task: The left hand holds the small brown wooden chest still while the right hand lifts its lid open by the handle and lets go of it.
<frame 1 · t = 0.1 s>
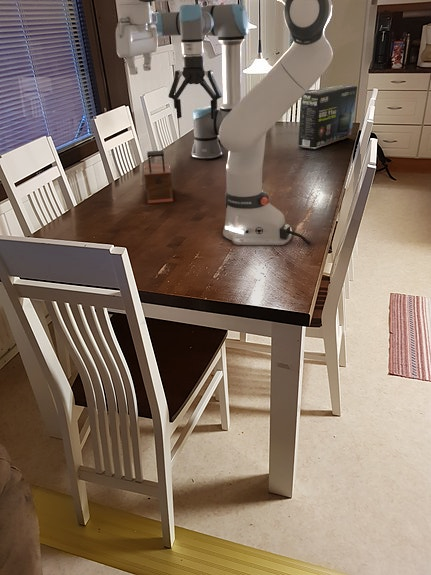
left hand: (196, 118, 174), 28 cm above the table, tool pointing down, fingers open, 13 cm apart
right hand: (140, 72, 133), 48 cm above the table, tool pointing down, fingers open, 8 cm apart
fossil: (233, 139, 258), on the table
chest: (159, 196, 183), on the table
router box: (325, 143, 245), on the table
lid: (156, 159, 175), point 15 cm above the table, hinge at 0.0°
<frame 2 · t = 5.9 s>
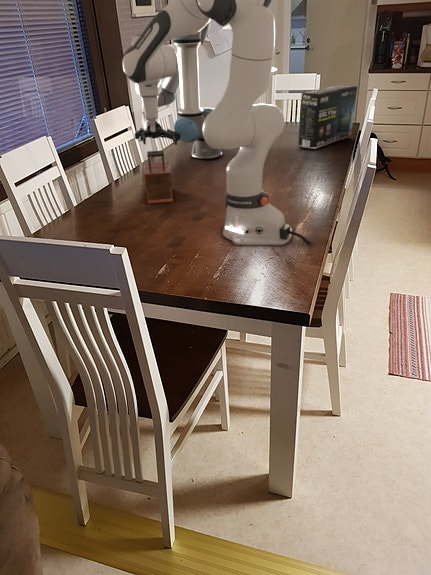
left hand: (160, 141, 197), 15 cm above the table, tool horizontal, fingers open, 13 cm apart
right hand: (152, 128, 165), 27 cm above the table, tool pointing down, fingers open, 8 cm apart
nothing on the table moved.
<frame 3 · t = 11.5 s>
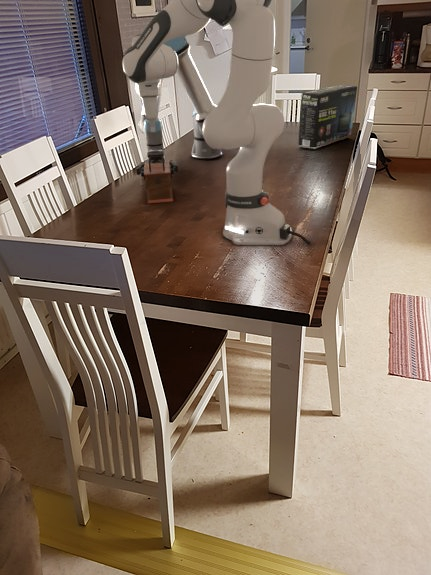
left hand: (157, 175, 183), 7 cm above the table, tool horizontal, fingers closed on chest, 10 cm apart
right hand: (152, 128, 165), 27 cm above the table, tool pointing down, fingers open, 8 cm apart
chest: (159, 196, 183), on the table, touching left hand
everything else where it was.
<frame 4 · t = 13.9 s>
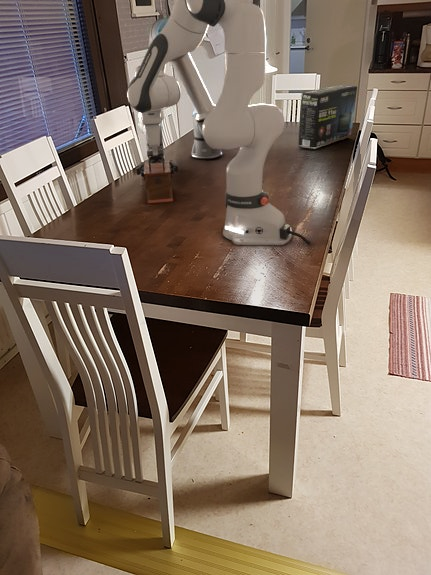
left hand: (157, 175, 183), 7 cm above the table, tool horizontal, fingers closed on chest, 10 cm apart
right hand: (155, 153, 170), 18 cm above the table, tool pointing down, fingers closed on lid, 2 cm apart
chest: (159, 196, 183), on the table, touching left hand
lid: (156, 159, 175), point 15 cm above the table, hinge at 1.0°, touching right hand
everything else where it was.
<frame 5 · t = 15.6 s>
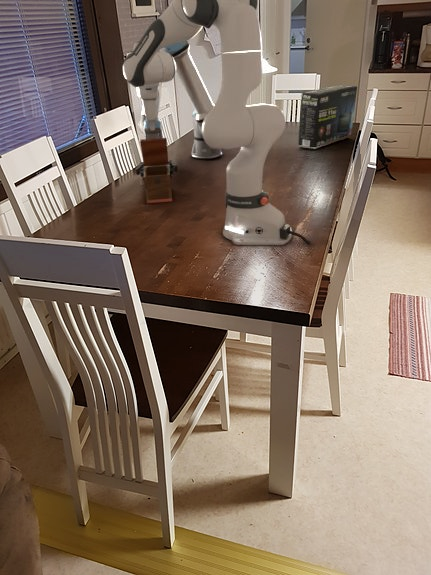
left hand: (157, 175, 183), 7 cm above the table, tool horizontal, fingers closed on chest, 10 cm apart
right hand: (152, 128, 175), 25 cm above the table, tool pointing down, fingers closed on lid, 2 cm apart
chest: (159, 196, 183), on the table, touching left hand
lid: (154, 144, 178), point 19 cm above the table, hinge at 53.4°, touching right hand
everything else where it was.
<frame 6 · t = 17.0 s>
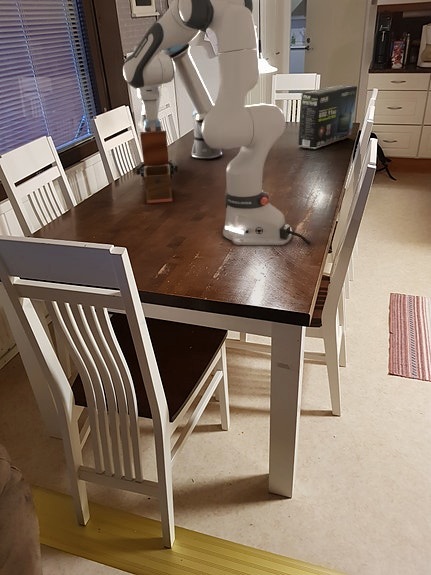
left hand: (157, 175, 182), 7 cm above the table, tool horizontal, fingers closed on chest, 10 cm apart
right hand: (153, 129, 178), 24 cm above the table, tool pointing down, fingers open, 5 cm apart
chest: (159, 196, 183), on the table, touching left hand
lid: (154, 143, 180), point 19 cm above the table, hinge at 70.0°
everything else where it was.
when the left hand's fingers open (7 cm above the table, at t = 20.4 s): chest stays where it is, on the table.
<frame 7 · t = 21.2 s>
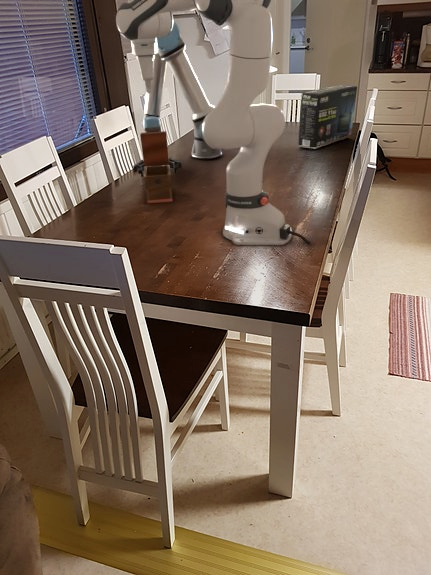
left hand: (158, 172, 187), 7 cm above the table, tool horizontal, fingers open, 13 cm apart
right hand: (149, 91, 164), 39 cm above the table, tool pointing down, fingers open, 8 cm apart
chest: (159, 196, 183), on the table
lid: (154, 143, 179), point 19 cm above the table, hinge at 68.4°
everything else where it was.
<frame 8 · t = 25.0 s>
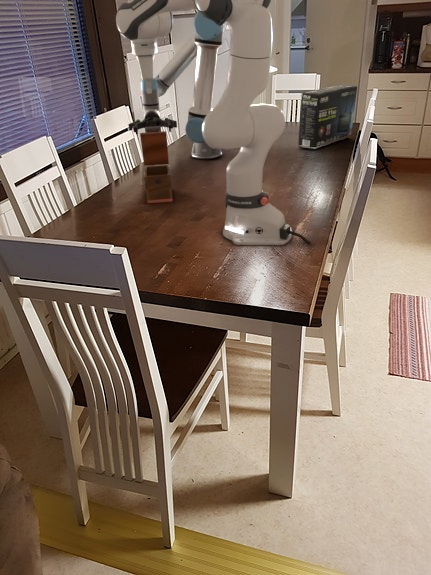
left hand: (153, 129, 186), 22 cm above the table, tool horizontal, fingers open, 13 cm apart
right hand: (149, 91, 164), 39 cm above the table, tool pointing down, fingers open, 8 cm apart
nothing on the table moved.
at the end: lid at +68° (first picture: +0°); the left hand is holding nothing; the right hand is holding nothing; chest tilted 0°; chest never tilted more than 1° during the clip; chest moved 0.1 cm from its start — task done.
